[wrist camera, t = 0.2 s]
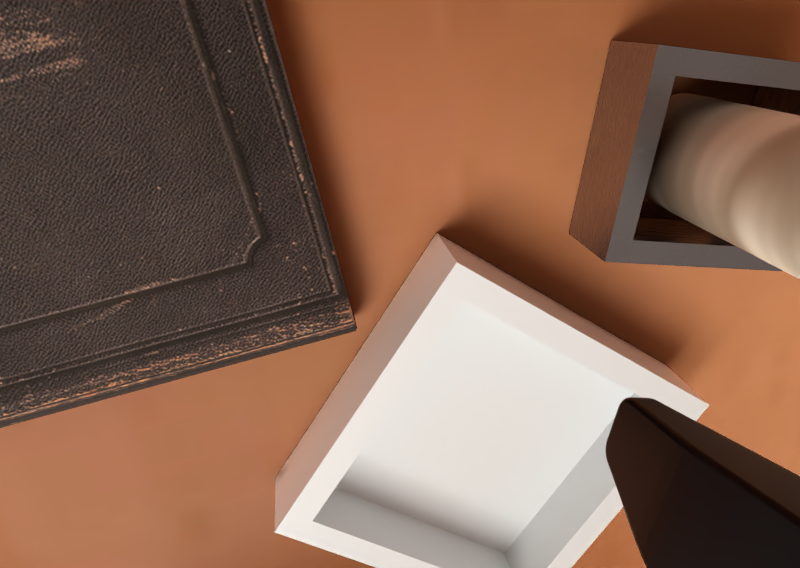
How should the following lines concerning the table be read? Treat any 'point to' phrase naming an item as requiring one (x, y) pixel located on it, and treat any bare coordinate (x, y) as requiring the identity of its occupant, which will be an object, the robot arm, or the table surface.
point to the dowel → (732, 174)
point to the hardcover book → (151, 200)
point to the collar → (636, 146)
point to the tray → (469, 428)
